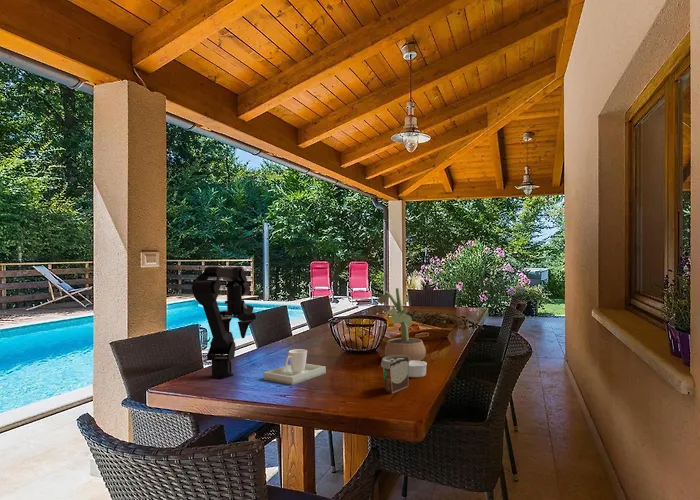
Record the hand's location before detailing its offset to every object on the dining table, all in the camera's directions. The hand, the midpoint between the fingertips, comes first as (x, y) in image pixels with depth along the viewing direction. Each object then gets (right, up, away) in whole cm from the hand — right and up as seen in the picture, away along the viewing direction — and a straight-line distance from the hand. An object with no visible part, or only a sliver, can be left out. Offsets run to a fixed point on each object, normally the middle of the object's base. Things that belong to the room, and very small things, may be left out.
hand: (235, 337), depth 189 cm
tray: (+26, -11, -16) cm, 32 cm away
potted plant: (+67, -11, +5) cm, 68 cm away
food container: (+60, -11, -34) cm, 69 cm away
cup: (+26, -11, -16) cm, 32 cm away
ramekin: (+69, -11, -18) cm, 72 cm away
